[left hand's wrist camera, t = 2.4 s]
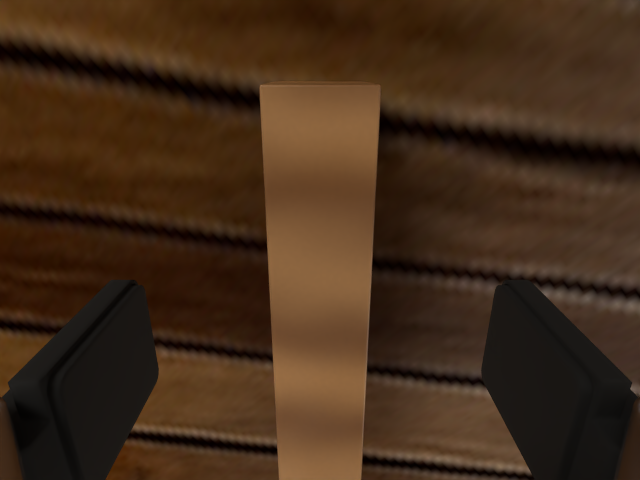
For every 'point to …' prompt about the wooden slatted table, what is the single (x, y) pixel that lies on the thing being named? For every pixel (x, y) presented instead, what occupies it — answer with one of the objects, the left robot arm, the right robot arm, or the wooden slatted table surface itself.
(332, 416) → the bar
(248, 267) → the wooden slatted table surface
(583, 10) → the wooden slatted table surface
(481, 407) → the wooden slatted table surface
